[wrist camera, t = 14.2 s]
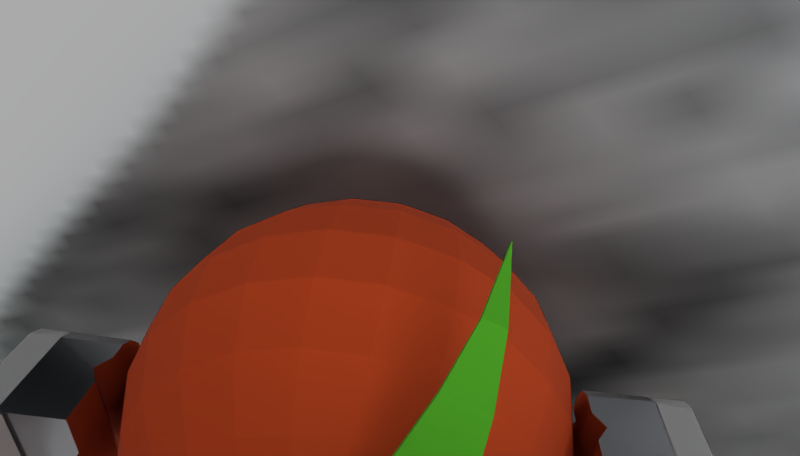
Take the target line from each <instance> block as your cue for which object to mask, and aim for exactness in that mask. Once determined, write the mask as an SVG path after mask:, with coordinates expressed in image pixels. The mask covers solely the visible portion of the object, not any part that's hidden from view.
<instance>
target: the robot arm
mask: <svg viewBox="0 0 800 456" xmlns="http://www.w3.org/2000/svg"><path fill="white" fill-rule="evenodd" d="M139 347H140V346H139V343H137V342H134V341H132V340H126V339H119V338H111V337H104V336H97V335H90V334H83V333H75V332H64V331H57V330H50V329H42V328H41V329H39V330H36V331H34V332H32V333H30V334H29V335H28V336H27V337H26V338H25V339H24V340H23V341H22V342H21V343H20V344H19V345H18V346H17V347H16V348H15V349H14V350H13V351H12V352H11V353H10V354H9V355H8V356H7V357H6V358H5V359H4V360H3V361H2V362H1V363H0V456H118V447H119V438H120V430H121V422H122V413H123V405H124V397H125V389H126V381H127V373H128V370H129V368H130V366H131V364H132V362H133V360H134V358H135V356H136V354H137V352H138V349H139ZM573 408H574V413H575V418H576V422H575V423H573V450H574V456H713V455H712V452H711V450H710V448H709V446H708V444H707V441H706V439H705V437H704V435H703V432H702V430H701V428H700V426H699V423H698V421H697V419H696V417H695V415H694V412H693V410H692V408H691V406H690V405H688V404H687V403H686V402H685V401H678V400H669V399H659V398H647V397H641V396H631V395H621V394H612V393H602V392H592V391H581V392H580V393H579V395H578V396H577V399H576V402H575V404H574V407H573Z"/></svg>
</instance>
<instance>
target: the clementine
mask: <svg viewBox="0 0 800 456" xmlns="http://www.w3.org/2000/svg"><path fill="white" fill-rule="evenodd" d="M512 242H513V241H512ZM512 242H510V244H509V247H508V249H507V252H506V254H505V257H504V259H503V260H501V259H500V258H499V257H498V256H497V255H496V254H495V253H493V252H492V251H491V250H490V249H489V248H488V247H487V246H486V245H484V244H483V243H481V242H480V241H478V240H477V239H475V238H474V237H472V236H471V235H469V234H468V233H466V232H464V231H463V230H461V229H460V228H458V227H457V226H455V225H454V224H452V223H451V222H449V221H448V220H446V219H443V218H440V217H437V216H434V215H432V214H429V213H426V212H423V211H420V210H417V209H415V208H412V207H409V206H406V205H403V204H399V203H390V202H381V201H372V200H362V199H345V200H337V201H329V202H321V203H313V204H307V205H304V206H300V207H297V208H294V209H291V210H288V211H285V212H282V213H280V214H277V215H275V216H272V217H270V218H267V219H265V220H263V221H260V222H258V223H255V224H253V225H250V226H248V227H245V228H243V229H240V230H238V231H236V232H235V233H234V234H233V235H232V236H230V237H229V238H228V239H227V240H225V241H224V242H223V243H222V244H221V245H219V246H218V247H217V248H216V249H214V250H213V251H212V252H211V253H210V254H208V255H207V256H206V257H205V258H203V259H202V260H201V261H200V262H199V263H198V264H197V265H196V266H195V267H194V268H193V269H192V270H191V271H190V272H189V273H188V274H187V275H186V276H184V277H183V278H182V279H181V280H180V281H179V282H178V283H177V284H176V285H175V286H174V287H173V288H172V289H171V291H170V292H169V294H168V296H167V298H166V299H165V301H164V303H163V304H162V306H161V308H160V310H159V311H158V313H157V315H156V316H155V318H154V320H153V322H152V323H151V325H150V327H149V329H148V331H147V333H146V335H145V337H144V339H143V341H142V343H141V345H140V347H139V349H138V352H137V354H136V356H135V358H134V360H133V362H132V364H131V366H130V368H129V370H128V373H127V381H126V389H125V397H124V405H123V413H122V422H121V430H120V438H119V447H118V456H574V450H573V423H572V403H571V384H570V376H569V374H568V371H567V369H566V366H565V364H564V361H563V359H562V356H561V354H560V352H559V349H558V347H557V344H556V342H555V339H554V337H553V335H552V333H551V330H550V328H549V326H548V324H547V321H546V319H545V317H544V315H543V312H542V310H541V308H540V306H539V303H538V301H537V299H536V297H535V296H534V295H533V294H532V293H531V292H530V291H529V289H528V288H527V287H526V286H525V285H524V284H523V283H522V282H521V281H520V279H519V278H518V277H517V276H516V275H515V274H514V273H513V272H512V270H511V264H512Z"/></svg>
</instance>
